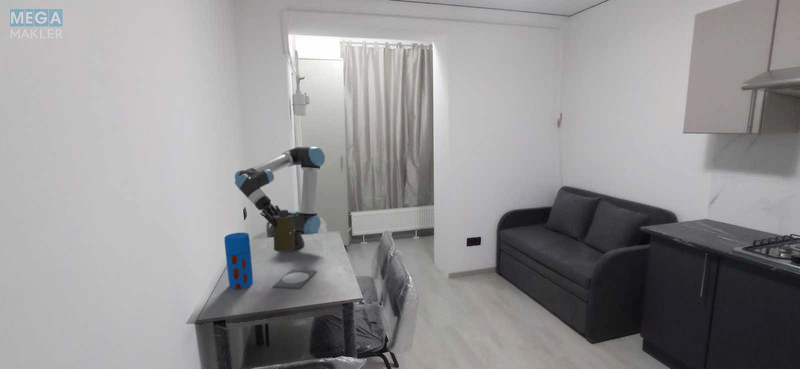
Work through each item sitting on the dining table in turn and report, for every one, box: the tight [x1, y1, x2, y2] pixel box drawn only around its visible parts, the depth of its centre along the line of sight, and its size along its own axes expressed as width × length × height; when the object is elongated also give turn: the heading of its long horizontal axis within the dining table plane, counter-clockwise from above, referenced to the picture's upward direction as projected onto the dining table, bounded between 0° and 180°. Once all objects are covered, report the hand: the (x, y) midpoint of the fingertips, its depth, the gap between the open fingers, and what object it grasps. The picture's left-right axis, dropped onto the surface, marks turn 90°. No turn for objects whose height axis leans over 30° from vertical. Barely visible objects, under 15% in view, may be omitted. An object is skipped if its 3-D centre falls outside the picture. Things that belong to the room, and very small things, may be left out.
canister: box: [272, 209, 295, 253], centre depth 178 cm, size 11×10×20 cm
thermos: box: [224, 232, 254, 290], centre depth 171 cm, size 11×11×25 cm
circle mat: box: [272, 268, 317, 290], centre depth 178 cm, size 20×14×1 cm
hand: (291, 233), depth 178 cm, fingers open, 3 cm apart
